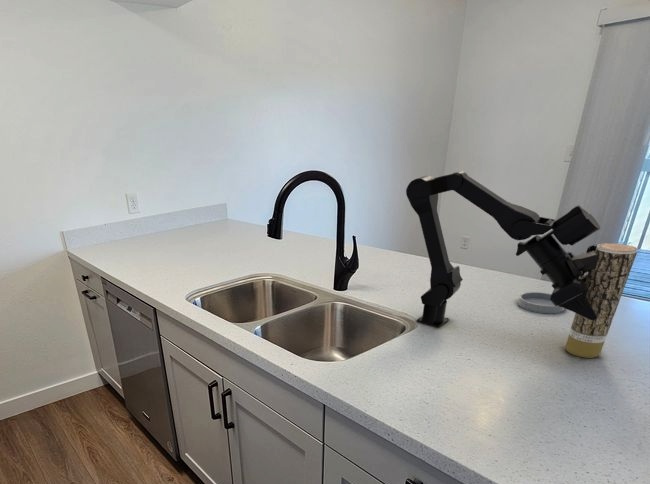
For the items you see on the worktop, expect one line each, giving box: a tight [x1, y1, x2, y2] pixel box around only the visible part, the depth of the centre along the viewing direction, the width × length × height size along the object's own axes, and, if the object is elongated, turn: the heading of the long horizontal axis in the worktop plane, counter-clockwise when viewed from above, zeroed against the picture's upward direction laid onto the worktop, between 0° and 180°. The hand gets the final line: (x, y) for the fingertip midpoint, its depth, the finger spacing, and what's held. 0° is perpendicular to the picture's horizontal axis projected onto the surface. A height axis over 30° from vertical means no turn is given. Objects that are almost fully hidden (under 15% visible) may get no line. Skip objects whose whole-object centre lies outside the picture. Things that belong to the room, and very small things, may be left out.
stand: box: [517, 291, 566, 314], centre depth 127 cm, size 12×12×2 cm
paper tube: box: [564, 242, 639, 359], centre depth 97 cm, size 7×7×25 cm
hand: (596, 312), depth 98 cm, fingers open, 9 cm apart
